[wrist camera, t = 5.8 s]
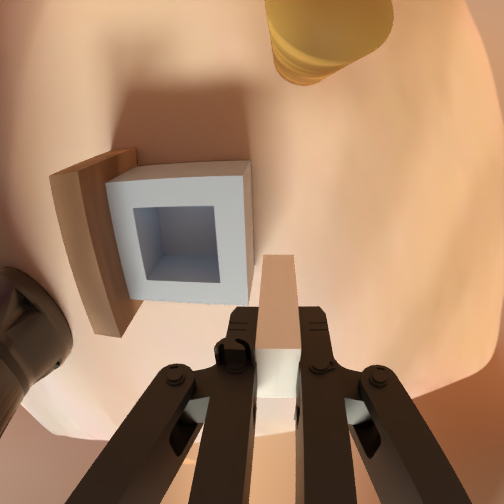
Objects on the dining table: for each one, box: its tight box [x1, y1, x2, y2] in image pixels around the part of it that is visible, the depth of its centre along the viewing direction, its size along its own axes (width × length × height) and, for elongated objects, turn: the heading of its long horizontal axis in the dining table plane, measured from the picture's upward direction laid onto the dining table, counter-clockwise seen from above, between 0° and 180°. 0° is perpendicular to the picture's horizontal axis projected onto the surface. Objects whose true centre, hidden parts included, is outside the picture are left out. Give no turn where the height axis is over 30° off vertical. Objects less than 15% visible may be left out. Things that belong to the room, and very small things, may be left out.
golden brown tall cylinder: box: [265, 0, 394, 86], centre depth 12 cm, size 4×4×13 cm
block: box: [105, 160, 254, 306], centre depth 22 cm, size 9×9×5 cm
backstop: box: [49, 148, 144, 338], centre depth 21 cm, size 2×12×8 cm, turn 2°
